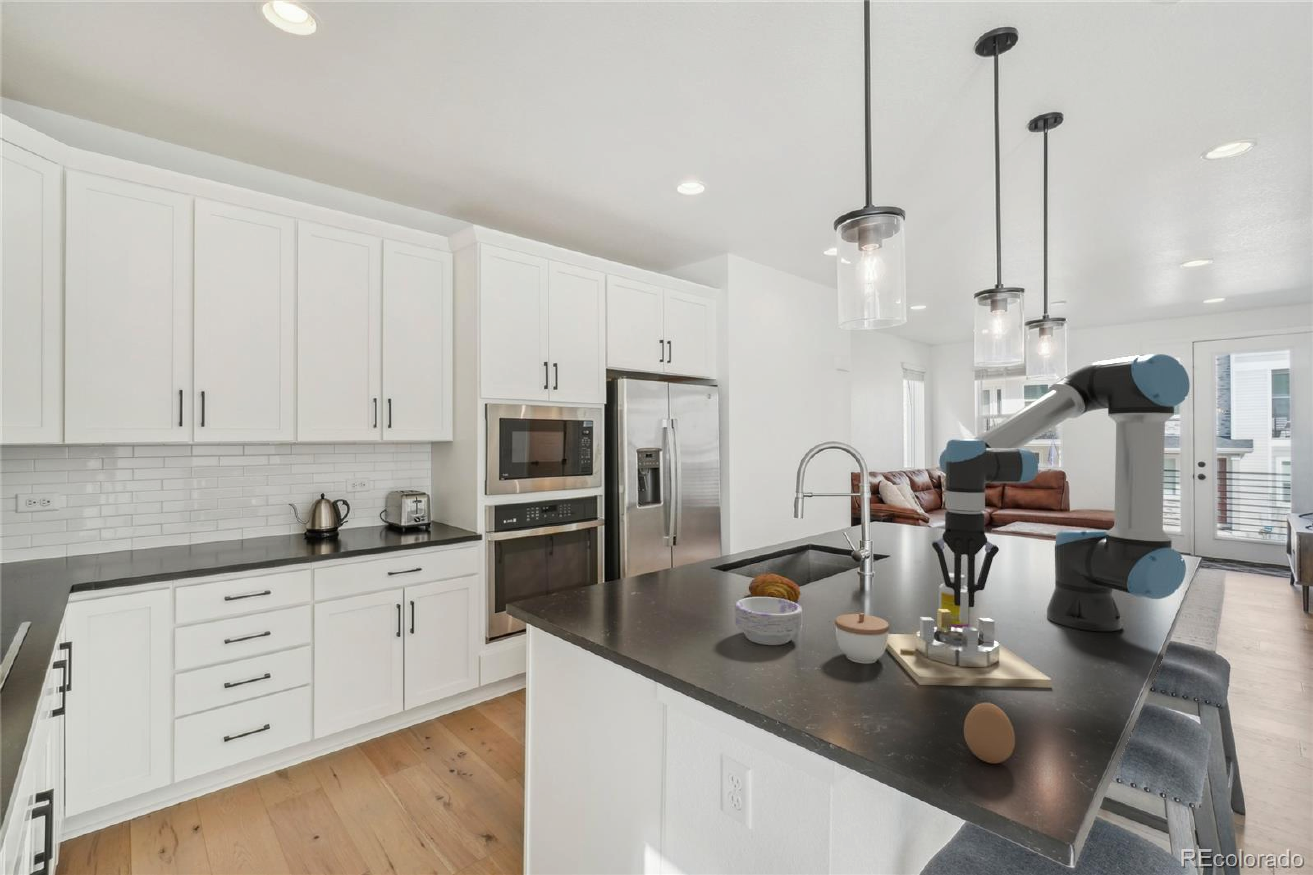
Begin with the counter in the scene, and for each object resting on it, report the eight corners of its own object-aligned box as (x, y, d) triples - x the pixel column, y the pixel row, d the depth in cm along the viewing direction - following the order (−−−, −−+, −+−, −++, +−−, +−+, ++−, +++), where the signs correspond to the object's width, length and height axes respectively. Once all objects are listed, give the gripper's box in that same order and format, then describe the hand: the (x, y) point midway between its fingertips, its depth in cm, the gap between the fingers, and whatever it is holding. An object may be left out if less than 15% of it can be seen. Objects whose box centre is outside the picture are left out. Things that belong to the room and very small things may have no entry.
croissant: (748, 613, 164) (747, 585, 163) (749, 590, 179) (748, 565, 178) (802, 614, 162) (801, 586, 160) (798, 591, 177) (798, 565, 176)
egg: (1009, 779, 81) (1009, 719, 81) (958, 761, 86) (958, 704, 86) (1019, 759, 86) (1019, 703, 86) (970, 744, 90) (970, 690, 90)
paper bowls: (814, 638, 138) (814, 603, 138) (779, 656, 126) (779, 618, 126) (758, 623, 148) (758, 592, 148) (721, 639, 137) (721, 604, 137)
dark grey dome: (965, 649, 126) (965, 632, 126) (979, 660, 120) (980, 643, 120) (934, 648, 127) (934, 632, 127) (947, 660, 120) (947, 642, 120)
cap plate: (987, 642, 134) (987, 632, 134) (1051, 687, 111) (1051, 675, 110) (878, 640, 136) (878, 630, 136) (919, 684, 112) (919, 672, 112)
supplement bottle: (973, 633, 141) (973, 578, 141) (943, 631, 142) (943, 577, 142) (964, 624, 147) (964, 572, 147) (935, 622, 149) (935, 571, 148)
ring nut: (975, 641, 130) (975, 609, 130) (1011, 667, 116) (1011, 631, 115) (907, 640, 131) (907, 608, 131) (935, 665, 116) (935, 630, 116)
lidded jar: (862, 671, 118) (862, 624, 118) (824, 654, 128) (824, 610, 127) (900, 662, 123) (900, 616, 123) (860, 645, 132) (860, 603, 132)
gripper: (997, 510, 128) (996, 620, 128) (930, 507, 133) (929, 612, 134) (1002, 515, 121) (1001, 630, 122) (931, 511, 127) (930, 622, 127)
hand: (963, 621), depth 128 cm, fingers closed
